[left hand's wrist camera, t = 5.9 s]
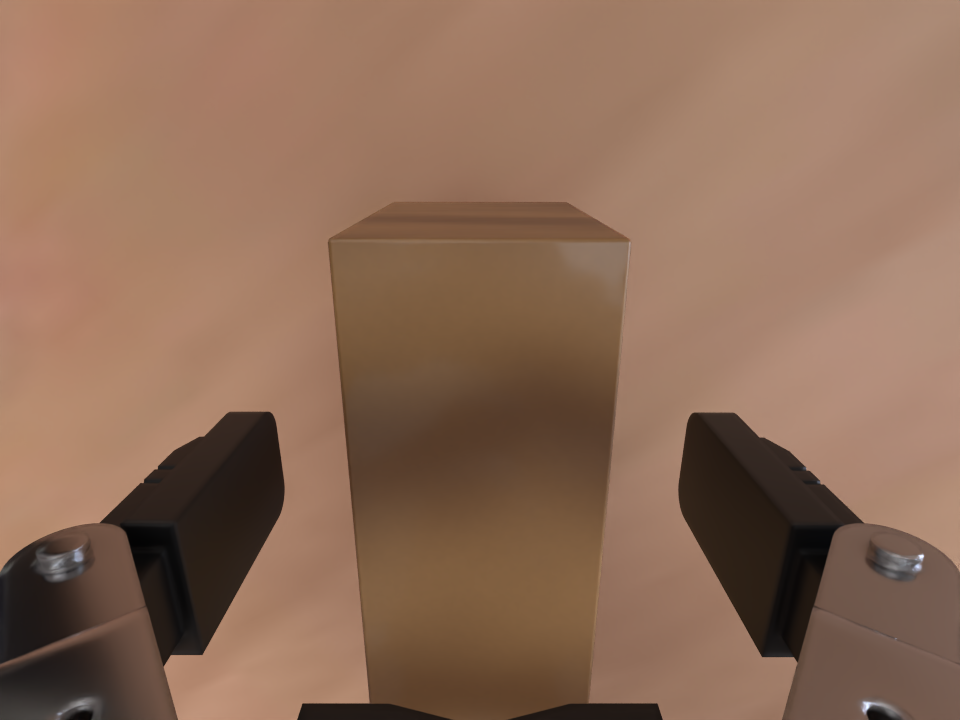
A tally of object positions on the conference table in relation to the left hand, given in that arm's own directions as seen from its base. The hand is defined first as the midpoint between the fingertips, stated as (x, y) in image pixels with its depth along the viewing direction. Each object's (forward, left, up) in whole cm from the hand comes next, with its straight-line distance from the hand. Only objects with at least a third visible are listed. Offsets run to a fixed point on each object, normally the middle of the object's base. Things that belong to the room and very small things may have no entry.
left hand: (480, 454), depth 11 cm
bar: (+8, 0, -10) cm, 13 cm away
